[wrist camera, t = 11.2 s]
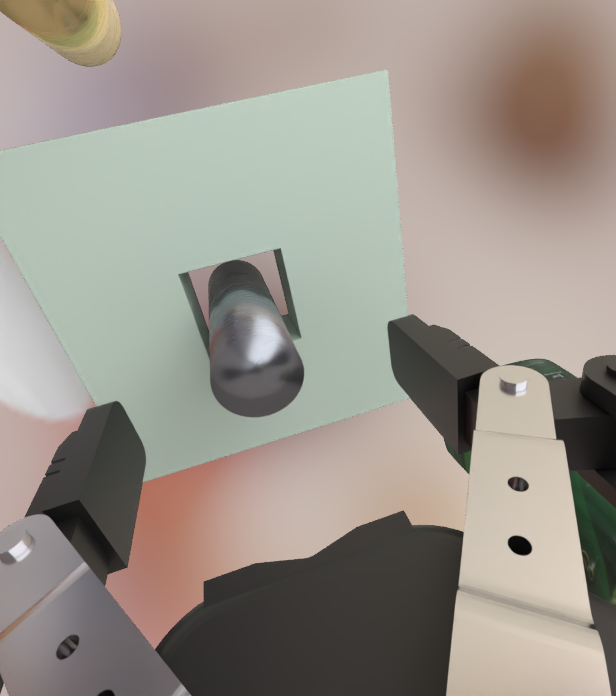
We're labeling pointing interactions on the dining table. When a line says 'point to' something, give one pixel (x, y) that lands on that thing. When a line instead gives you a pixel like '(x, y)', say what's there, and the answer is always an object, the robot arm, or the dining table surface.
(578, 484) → the coffee jar
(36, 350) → the dining table surface
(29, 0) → the short pin
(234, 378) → the long pin
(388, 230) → the hole block
